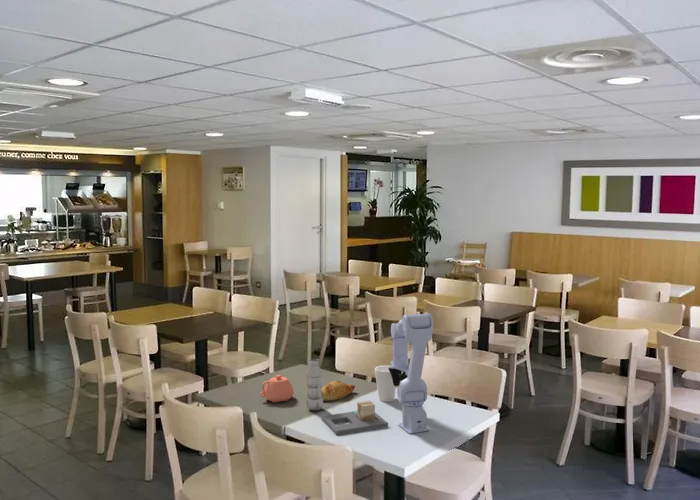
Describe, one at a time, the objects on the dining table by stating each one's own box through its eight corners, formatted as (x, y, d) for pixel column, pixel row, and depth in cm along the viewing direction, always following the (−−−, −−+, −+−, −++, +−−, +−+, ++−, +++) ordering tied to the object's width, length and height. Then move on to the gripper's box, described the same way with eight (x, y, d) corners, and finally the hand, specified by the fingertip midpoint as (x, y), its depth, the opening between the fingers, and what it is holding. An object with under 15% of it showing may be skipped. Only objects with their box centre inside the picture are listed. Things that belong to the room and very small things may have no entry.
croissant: (316, 412, 248) (320, 397, 244) (304, 395, 255) (308, 381, 251) (357, 400, 260) (362, 386, 256) (345, 384, 267) (350, 370, 263)
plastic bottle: (321, 412, 237) (320, 362, 235) (304, 411, 238) (303, 361, 236) (325, 407, 243) (324, 358, 241) (309, 406, 244) (307, 357, 243)
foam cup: (398, 395, 256) (398, 365, 254) (397, 403, 246) (397, 371, 245) (375, 395, 256) (375, 365, 255) (374, 402, 247) (374, 371, 246)
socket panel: (387, 426, 221) (387, 422, 221) (336, 435, 214) (336, 430, 214) (370, 412, 236) (370, 408, 236) (322, 419, 229) (321, 415, 229)
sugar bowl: (297, 401, 250) (296, 377, 250) (264, 406, 245) (263, 381, 244) (289, 393, 262) (288, 369, 261) (257, 397, 257) (256, 373, 256)
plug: (375, 422, 225) (374, 404, 225) (362, 424, 224) (362, 406, 223) (369, 418, 230) (369, 400, 229) (357, 420, 228) (357, 402, 228)
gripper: (383, 350, 240) (383, 384, 241) (399, 359, 226) (399, 395, 227) (399, 349, 242) (399, 382, 243) (416, 357, 228) (416, 392, 230)
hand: (400, 388), depth 235 cm, fingers open, 7 cm apart
